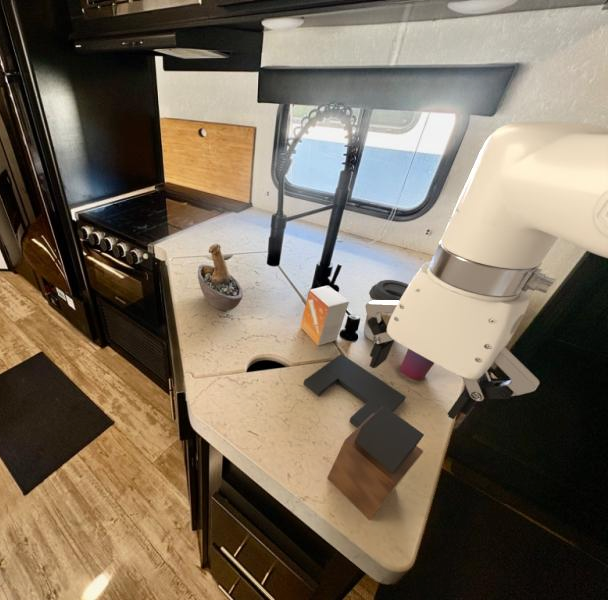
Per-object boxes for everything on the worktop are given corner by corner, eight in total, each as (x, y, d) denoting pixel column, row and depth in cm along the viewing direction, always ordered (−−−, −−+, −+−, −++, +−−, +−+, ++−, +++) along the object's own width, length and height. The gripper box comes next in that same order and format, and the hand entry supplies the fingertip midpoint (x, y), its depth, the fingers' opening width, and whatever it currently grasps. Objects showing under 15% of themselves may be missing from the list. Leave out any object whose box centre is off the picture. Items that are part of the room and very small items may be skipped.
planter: (201, 286, 105) (200, 230, 93) (249, 295, 101) (255, 238, 89) (184, 311, 94) (181, 251, 82) (238, 323, 89) (243, 261, 78)
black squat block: (413, 449, 46) (424, 434, 44) (392, 474, 43) (403, 459, 41) (375, 420, 50) (383, 405, 48) (354, 441, 47) (361, 426, 45)
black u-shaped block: (403, 401, 67) (406, 396, 67) (368, 436, 61) (370, 432, 60) (339, 358, 78) (341, 353, 77) (303, 384, 71) (304, 379, 70)
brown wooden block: (395, 488, 53) (423, 450, 46) (369, 520, 49) (396, 484, 42) (353, 451, 58) (373, 413, 51) (327, 477, 54) (344, 440, 47)
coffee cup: (349, 335, 85) (365, 290, 76) (364, 316, 92) (380, 272, 83) (393, 356, 78) (416, 308, 70) (406, 334, 85) (428, 288, 77)
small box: (299, 327, 87) (308, 289, 80) (318, 322, 89) (328, 284, 82) (317, 346, 81) (328, 306, 74) (337, 340, 83) (350, 301, 76)
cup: (435, 378, 73) (466, 329, 64) (414, 386, 71) (443, 337, 62) (410, 358, 78) (435, 311, 69) (389, 365, 76) (413, 317, 67)
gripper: (614, 294, 26) (505, 418, 36) (406, 232, 38) (366, 338, 47) (595, 328, 23) (480, 455, 32) (372, 247, 34) (337, 358, 44)
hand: (412, 385), depth 40 cm, fingers open, 9 cm apart
